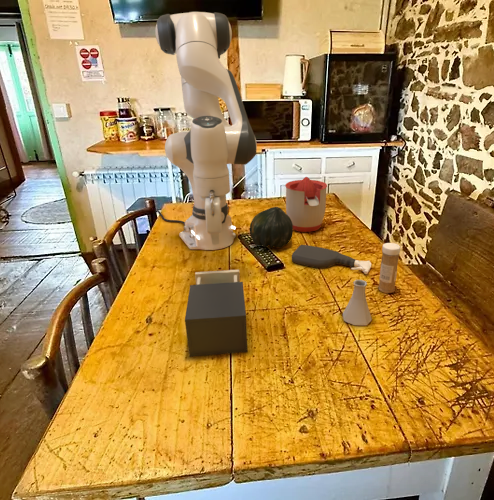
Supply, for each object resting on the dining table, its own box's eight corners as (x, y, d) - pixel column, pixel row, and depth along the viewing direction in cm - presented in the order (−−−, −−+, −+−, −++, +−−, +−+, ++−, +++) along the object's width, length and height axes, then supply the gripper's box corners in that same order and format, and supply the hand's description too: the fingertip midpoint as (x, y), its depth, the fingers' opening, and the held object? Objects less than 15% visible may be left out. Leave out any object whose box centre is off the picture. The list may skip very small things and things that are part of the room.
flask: (369, 329, 94) (373, 292, 89) (339, 323, 96) (342, 287, 92) (373, 313, 100) (377, 278, 96) (345, 307, 102) (347, 273, 98)
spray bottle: (301, 250, 134) (373, 264, 125) (288, 263, 125) (366, 279, 116) (301, 242, 133) (374, 256, 124) (289, 255, 124) (367, 270, 115)
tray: (198, 289, 110) (196, 264, 106) (239, 287, 111) (238, 262, 108) (194, 327, 94) (191, 299, 90) (242, 324, 95) (241, 296, 91)
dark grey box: (193, 318, 99) (190, 284, 95) (244, 314, 100) (242, 281, 96) (189, 356, 85) (184, 319, 81) (247, 352, 87) (245, 315, 83)
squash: (246, 222, 145) (250, 200, 131) (285, 220, 148) (294, 199, 134) (250, 257, 139) (256, 238, 126) (291, 254, 142) (301, 236, 129)
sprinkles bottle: (398, 290, 109) (404, 246, 104) (386, 295, 107) (392, 250, 102) (385, 283, 113) (390, 240, 107) (374, 288, 111) (379, 244, 105)
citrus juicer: (293, 238, 144) (293, 185, 136) (280, 222, 160) (280, 173, 151) (333, 234, 148) (336, 181, 139) (317, 218, 163) (319, 170, 155)
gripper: (225, 197, 90) (229, 252, 96) (224, 174, 108) (226, 221, 114) (197, 198, 89) (202, 253, 95) (200, 175, 108) (204, 223, 113)
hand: (215, 236), depth 105 cm, fingers open, 8 cm apart
